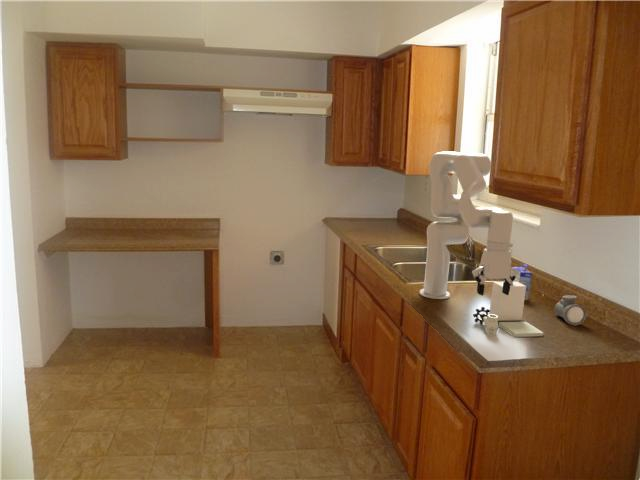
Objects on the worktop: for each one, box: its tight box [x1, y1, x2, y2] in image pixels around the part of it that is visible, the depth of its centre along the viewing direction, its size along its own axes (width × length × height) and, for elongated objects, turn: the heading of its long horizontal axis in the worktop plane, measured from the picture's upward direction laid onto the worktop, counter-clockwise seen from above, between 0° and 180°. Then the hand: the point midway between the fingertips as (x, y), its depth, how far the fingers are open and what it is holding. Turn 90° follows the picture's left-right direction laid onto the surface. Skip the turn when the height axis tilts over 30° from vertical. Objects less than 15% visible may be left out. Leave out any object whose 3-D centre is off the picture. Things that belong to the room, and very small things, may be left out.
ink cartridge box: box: [510, 263, 533, 301], centre depth 239 cm, size 10×6×14 cm, turn 2°
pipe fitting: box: [553, 294, 587, 327], centre depth 213 cm, size 12×8×10 cm, turn 3°
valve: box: [472, 306, 499, 336], centre depth 198 cm, size 7×7×12 cm
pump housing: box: [488, 274, 526, 326], centre depth 208 cm, size 8×11×17 cm
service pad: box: [498, 321, 545, 338], centre depth 199 cm, size 11×11×1 cm
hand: (492, 294), depth 196 cm, fingers open, 9 cm apart
